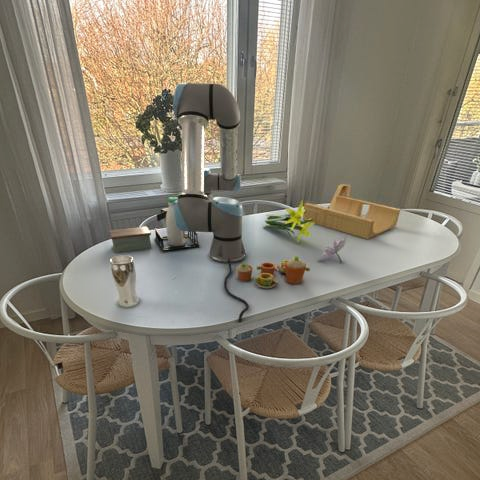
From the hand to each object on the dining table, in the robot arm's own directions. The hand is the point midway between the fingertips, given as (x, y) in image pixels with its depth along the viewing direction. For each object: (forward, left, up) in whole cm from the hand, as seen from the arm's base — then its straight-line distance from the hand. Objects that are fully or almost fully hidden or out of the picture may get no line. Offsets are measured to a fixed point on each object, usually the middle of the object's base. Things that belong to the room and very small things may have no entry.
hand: (171, 219), depth 147 cm
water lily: (-38, -58, -12) cm, 70 cm away
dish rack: (+2, -2, -12) cm, 12 cm away
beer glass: (-44, +26, -12) cm, 52 cm away
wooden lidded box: (+4, +17, -12) cm, 21 cm away
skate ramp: (0, -99, -12) cm, 100 cm away
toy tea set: (-46, -25, -12) cm, 54 cm away
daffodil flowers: (-6, -53, -12) cm, 55 cm away
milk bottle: (+2, -2, -12) cm, 12 cm away
